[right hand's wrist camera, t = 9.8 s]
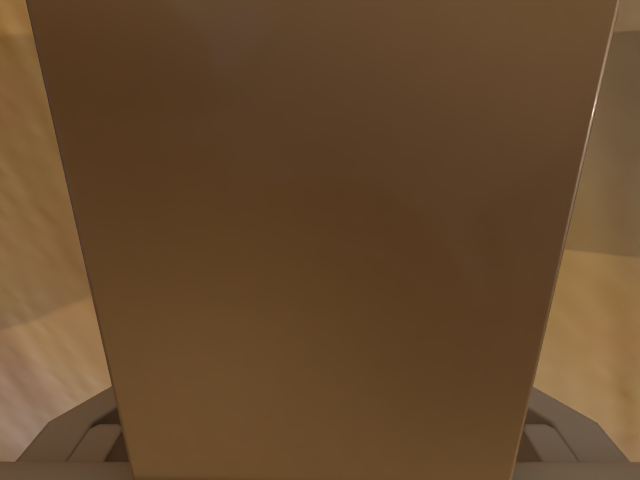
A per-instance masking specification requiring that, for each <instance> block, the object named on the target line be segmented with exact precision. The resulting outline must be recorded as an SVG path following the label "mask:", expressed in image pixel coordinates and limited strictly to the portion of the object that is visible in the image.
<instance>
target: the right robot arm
mask: <svg viewBox="0 0 640 480" xmlns="http://www.w3.org/2000/svg"><path fill="white" fill-rule="evenodd" d="M0 480H133V477H132V472H131V468H130V463H129V459H128V454H127V450H126V446H125V441H124V437H123V432H122V428H121V423H120V419H119V414H118V410H117V405H116V401H115V396H114V392H113V387H110V388H108V389H106V390H104V391H103V392H101V393H99V394H97V395H96V396H94V397H92V398H90V399H89V400H87V401H85V402H83V403H82V404H80V405H78V406H76V407H75V408H73V409H71V410H69V411H68V412H66V413H64V414H62V415H61V416H59V417H57V418H55V419H54V420H52V421H50V422H48V424H47V425H46V426H45V427H44V428H43V430H42V431H41V432H40V433H39V434H38V435H37V437H36V438H35V439H34V440H33V441H32V443H31V444H30V445H29V446H28V447H27V449H26V450H25V451H24V452H23V453H22V455H21V456H20V457H19V458H18V459H17V461H16V462H0ZM511 480H640V462H630V461H629V460H628V459H627V458H626V457H625V455H624V454H623V453H622V452H621V451H620V449H619V448H618V447H617V446H616V445H615V444H614V442H613V441H612V440H611V439H610V438H609V436H608V435H607V434H606V433H605V432H604V431H603V429H602V428H601V427H600V426H599V425H598V423H596V422H594V421H593V420H591V419H589V418H587V417H586V416H584V415H582V414H580V413H579V412H577V411H575V410H573V409H571V408H570V407H568V406H566V405H564V404H563V403H561V402H559V401H557V400H556V399H554V398H552V397H550V396H548V395H547V394H545V393H543V392H541V391H540V390H538V389H536V388H534V387H532V391H531V396H530V400H529V405H528V409H527V413H526V418H525V422H524V427H523V431H522V435H521V440H520V444H519V449H518V453H517V457H516V462H515V466H514V470H513V475H512V479H511Z"/></svg>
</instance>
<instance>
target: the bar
mask: <svg viewBox="0 0 640 480" xmlns="http://www.w3.org/2000/svg"><path fill="white" fill-rule="evenodd" d="M620 1H621V0H26V3H27V8H28V12H29V17H30V21H31V26H32V30H33V35H34V39H35V44H36V48H37V53H38V57H39V61H40V66H41V70H42V75H43V79H44V84H45V88H46V93H47V97H48V102H49V106H50V111H51V115H52V120H53V124H54V128H55V133H56V137H57V142H58V146H59V151H60V155H61V160H62V164H63V169H64V173H65V178H66V182H67V187H68V191H69V195H70V200H71V204H72V209H73V213H74V218H75V222H76V227H77V231H78V236H79V240H80V245H81V249H82V254H83V258H84V262H85V267H86V271H87V276H88V280H89V285H90V289H91V294H92V298H93V303H94V307H95V312H96V316H97V320H98V325H99V329H100V334H101V338H102V343H103V347H104V352H105V356H106V361H107V365H108V370H109V374H110V379H111V383H112V387H113V392H114V396H115V401H116V405H117V410H118V414H119V419H120V423H121V428H122V432H123V437H124V441H125V446H126V450H127V454H128V459H129V463H130V468H131V472H132V477H133V480H511V479H512V475H513V470H514V466H515V462H516V457H517V453H518V449H519V444H520V440H521V435H522V431H523V427H524V422H525V418H526V413H527V409H528V405H529V400H530V396H531V391H532V387H533V383H534V378H535V374H536V370H537V365H538V361H539V356H540V352H541V348H542V343H543V339H544V334H545V330H546V326H547V321H548V317H549V313H550V308H551V304H552V299H553V295H554V291H555V286H556V282H557V277H558V273H559V269H560V264H561V260H562V256H563V251H564V247H565V242H566V238H567V234H568V229H569V225H570V220H571V216H572V212H573V207H574V203H575V199H576V194H577V190H578V185H579V181H580V177H581V172H582V168H583V163H584V159H585V155H586V150H587V146H588V141H589V137H590V133H591V128H592V124H593V120H594V115H595V111H596V106H597V102H598V98H599V93H600V89H601V84H602V80H603V76H604V71H605V67H606V63H607V58H608V54H609V49H610V45H611V41H612V36H613V32H614V27H615V23H616V19H617V14H618V10H619V6H620Z"/></svg>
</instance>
